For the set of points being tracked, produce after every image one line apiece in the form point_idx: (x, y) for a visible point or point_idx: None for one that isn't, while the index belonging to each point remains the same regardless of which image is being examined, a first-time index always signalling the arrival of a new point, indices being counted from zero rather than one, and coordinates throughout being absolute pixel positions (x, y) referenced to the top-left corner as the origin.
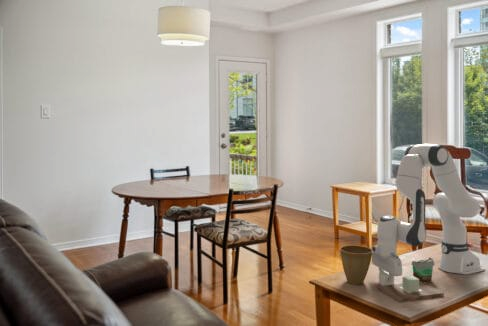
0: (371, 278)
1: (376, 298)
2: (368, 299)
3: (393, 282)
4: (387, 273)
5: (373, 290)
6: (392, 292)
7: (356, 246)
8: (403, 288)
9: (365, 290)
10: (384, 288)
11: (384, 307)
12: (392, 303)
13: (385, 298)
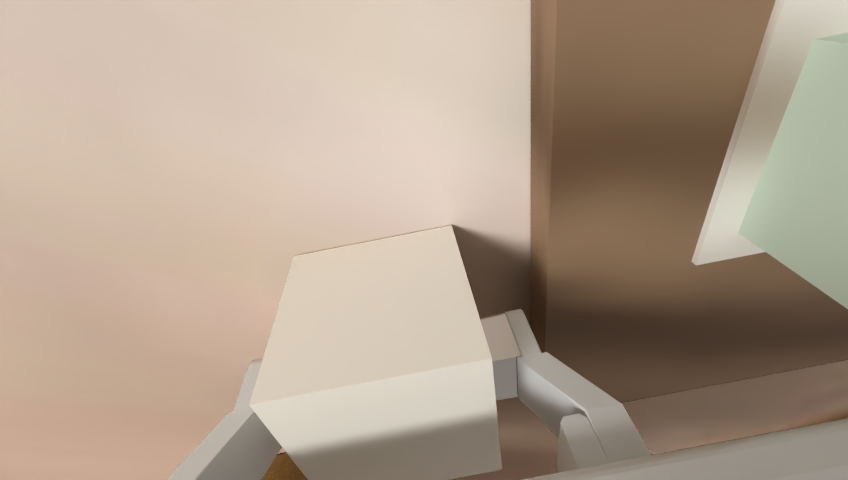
0: (170, 384)
1: (693, 425)
2: None
3: (461, 261)
4: (385, 430)
5: (538, 418)
6: (756, 360)
7: None
8: None
9: (518, 454)
10: (622, 393)
11: (844, 414)
12: (844, 366)
13: (734, 384)
